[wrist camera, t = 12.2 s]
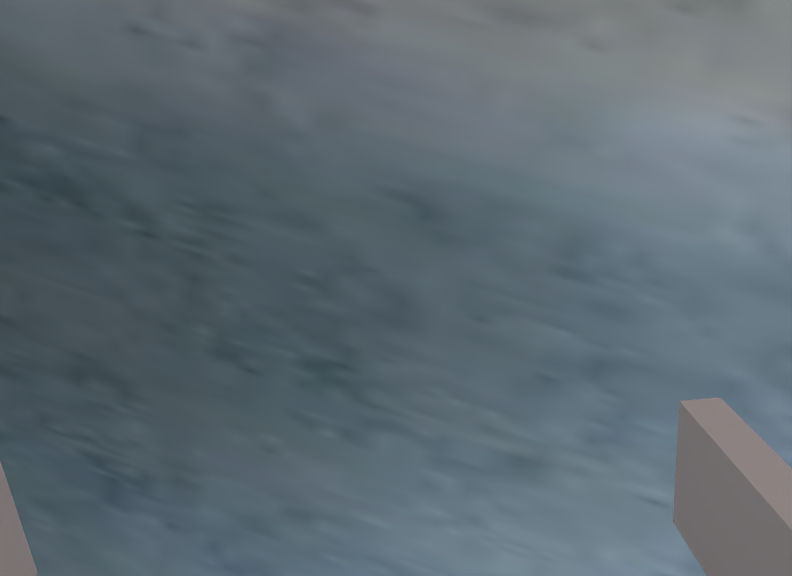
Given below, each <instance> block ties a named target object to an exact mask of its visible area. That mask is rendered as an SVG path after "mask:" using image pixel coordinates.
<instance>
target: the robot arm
mask: <svg viewBox="0 0 792 576" xmlns="http://www.w3.org/2000/svg"><path fill="white" fill-rule="evenodd" d="M673 522H674V524H675V525H676V527H677V529H678V530H679V532H680V533H681V535H682V537H683V538H684V540H685V541H686V543H687V545H688V546H689V548H690V549H691V551H692V553H693V554H694V556H695V557H696V559H697V561H698V562H699V564H700V565H701V567H702V569H703V570H704V572H705V573H706V575H707V576H792V469H791V468H790V467H789V466H788V465H787V464H786V463H785V462H784V461H783V460H782V459H781V458H780V457H779V456H778V455H777V454H776V453H775V452H774V451H773V450H772V449H771V448H770V447H769V446H768V445H767V444H766V443H765V442H764V441H763V440H762V439H761V438H760V437H759V436H758V435H757V434H756V433H755V432H754V431H753V430H752V429H751V428H750V427H749V426H748V425H747V424H746V423H745V422H744V421H743V420H742V419H741V418H740V417H739V416H738V415H737V414H736V413H735V412H734V411H733V410H732V409H731V408H730V407H729V406H728V405H727V404H726V403H725V402H724V401H723V400H722V399H721V398H708V399H697V400H685V401H679V417H678V437H677V456H676V476H675V495H674V515H673ZM37 574H38V573H37V570H36V567H35V564H34V561H33V558H32V555H31V552H30V549H29V546H28V543H27V540H26V537H25V534H24V531H23V528H22V525H21V522H20V519H19V516H18V513H17V510H16V507H15V504H14V501H13V498H12V495H11V492H10V489H9V486H8V483H7V480H6V477H5V474H4V471H3V468H2V465H1V462H0V576H36V575H37Z"/></svg>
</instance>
